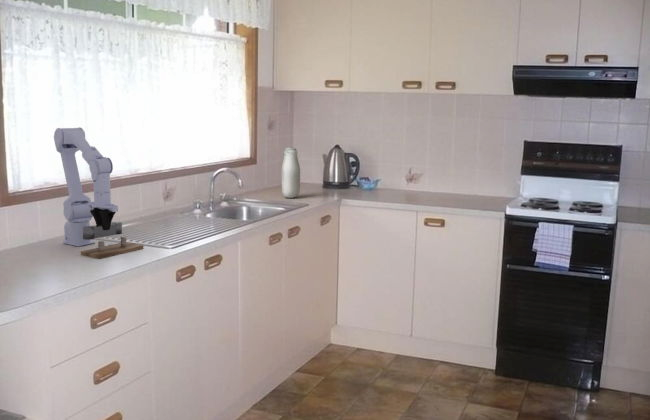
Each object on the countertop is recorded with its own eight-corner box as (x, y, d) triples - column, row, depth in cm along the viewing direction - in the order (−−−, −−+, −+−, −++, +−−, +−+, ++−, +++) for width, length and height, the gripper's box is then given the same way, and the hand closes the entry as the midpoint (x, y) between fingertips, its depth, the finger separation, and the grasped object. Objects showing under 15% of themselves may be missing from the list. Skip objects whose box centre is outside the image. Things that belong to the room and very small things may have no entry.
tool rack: (80, 254, 247) (80, 242, 246) (125, 244, 263) (125, 233, 262) (98, 258, 241) (98, 246, 240) (143, 248, 257) (143, 236, 257)
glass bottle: (292, 195, 391) (292, 146, 386) (303, 198, 383) (303, 147, 378) (277, 197, 384) (278, 147, 380) (289, 199, 377) (289, 148, 372)
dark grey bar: (80, 238, 244) (80, 227, 244) (117, 232, 257) (117, 221, 257) (87, 240, 242) (87, 228, 241) (124, 233, 255) (124, 222, 254)
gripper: (79, 191, 248) (81, 228, 250) (105, 195, 240) (107, 233, 242) (96, 189, 254) (98, 225, 256) (122, 192, 246) (123, 230, 248)
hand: (103, 229), depth 250 cm, fingers closed on dark grey bar, 3 cm apart
